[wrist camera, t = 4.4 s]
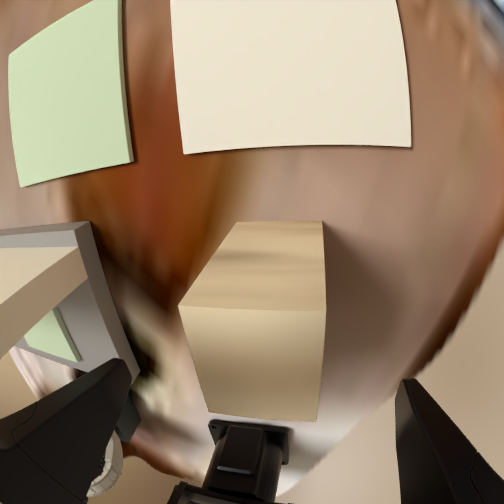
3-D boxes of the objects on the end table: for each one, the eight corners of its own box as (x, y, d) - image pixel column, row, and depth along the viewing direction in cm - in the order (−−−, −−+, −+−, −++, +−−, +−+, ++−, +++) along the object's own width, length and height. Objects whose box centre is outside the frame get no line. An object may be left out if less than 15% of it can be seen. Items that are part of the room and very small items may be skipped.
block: (320, 311, 16) (316, 421, 9) (246, 309, 16) (209, 411, 10) (322, 220, 14) (326, 311, 7) (236, 222, 14) (178, 305, 8)
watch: (72, 366, 24) (10, 446, 14) (142, 389, 22) (83, 494, 12) (91, 401, 26) (43, 476, 16) (157, 425, 24) (112, 516, 15)
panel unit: (140, 370, 21) (81, 466, 12) (23, 338, 24) (-29, 392, 16) (89, 221, 16) (-35, 304, 8) (-19, 232, 19) (-91, 278, 11)
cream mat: (408, 146, 11) (411, 147, 11) (187, 153, 13) (183, 154, 13) (380, -47, 7) (382, -50, 7) (172, -28, 9) (169, -31, 9)
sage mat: (134, 161, 14) (129, 162, 14) (24, 186, 16) (20, 187, 16) (121, -10, 10) (117, -12, 10) (12, 55, 12) (8, 54, 12)
